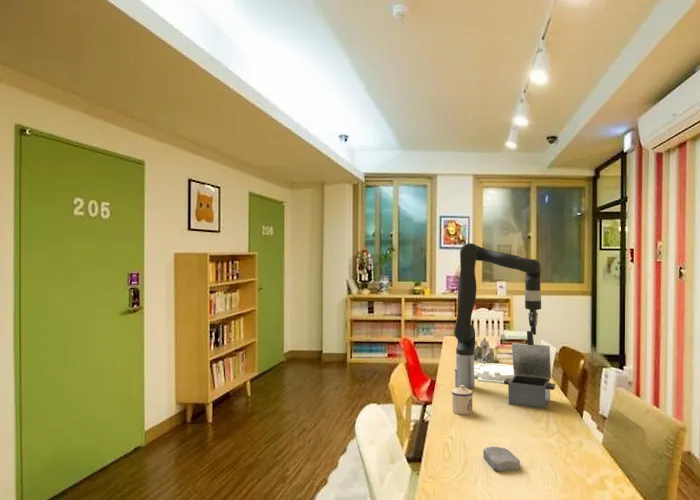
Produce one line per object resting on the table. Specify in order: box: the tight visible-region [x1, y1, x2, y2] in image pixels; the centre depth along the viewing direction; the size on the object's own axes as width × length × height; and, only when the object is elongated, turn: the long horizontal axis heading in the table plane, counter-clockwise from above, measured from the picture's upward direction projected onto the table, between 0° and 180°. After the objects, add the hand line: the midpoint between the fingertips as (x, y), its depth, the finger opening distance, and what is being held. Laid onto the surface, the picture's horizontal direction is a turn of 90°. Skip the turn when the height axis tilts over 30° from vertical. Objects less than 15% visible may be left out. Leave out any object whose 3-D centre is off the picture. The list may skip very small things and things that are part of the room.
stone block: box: [482, 446, 521, 472], centre depth 163 cm, size 12×5×10 cm
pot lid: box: [511, 330, 552, 380], centre depth 237 cm, size 17×25×3 cm
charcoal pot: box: [504, 375, 556, 410], centre depth 231 cm, size 22×16×10 cm
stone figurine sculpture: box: [474, 337, 496, 364], centre depth 321 cm, size 16×16×15 cm
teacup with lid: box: [451, 385, 474, 416], centre depth 219 cm, size 12×9×12 cm
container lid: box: [474, 363, 519, 385], centre depth 283 cm, size 30×35×6 cm
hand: (533, 334), depth 244 cm, fingers closed
